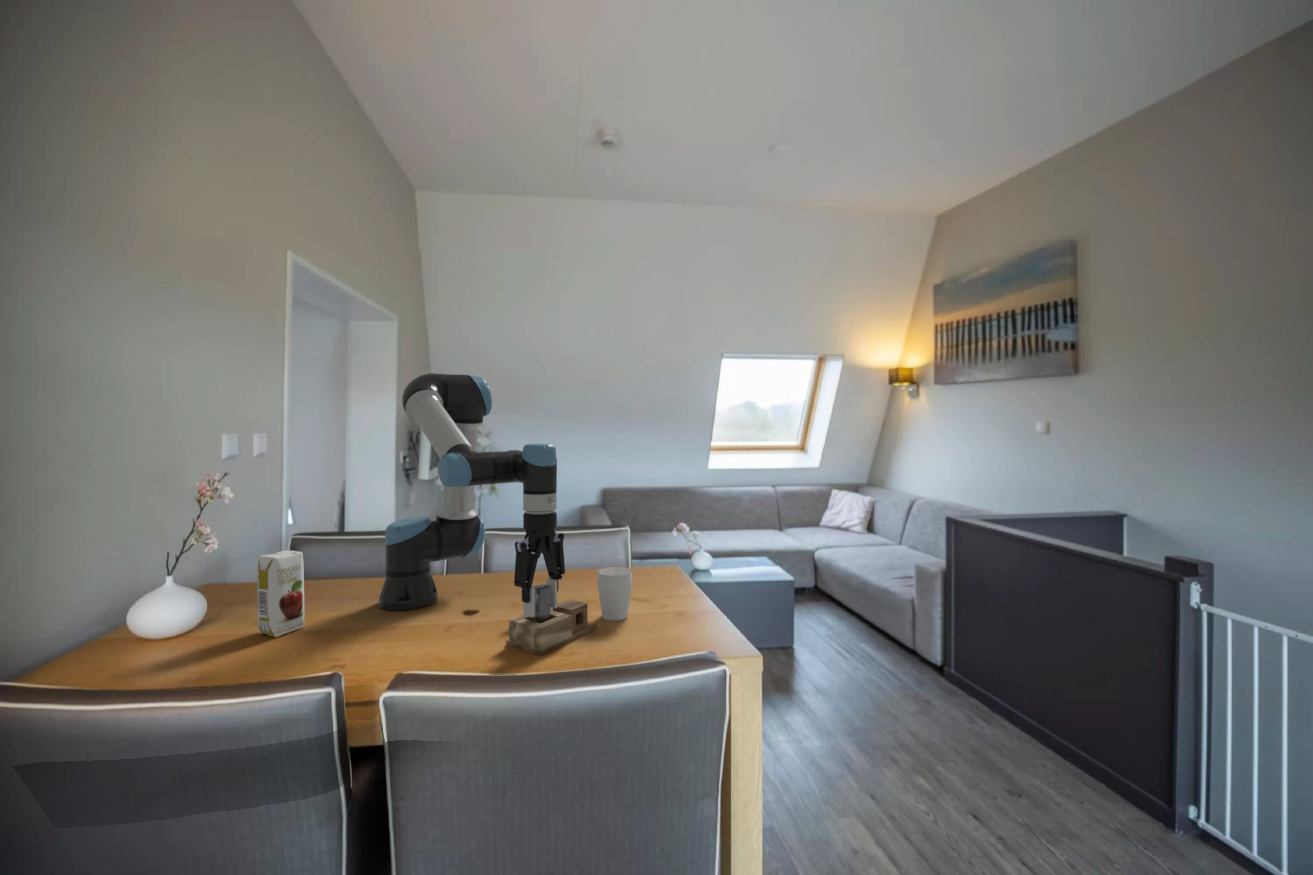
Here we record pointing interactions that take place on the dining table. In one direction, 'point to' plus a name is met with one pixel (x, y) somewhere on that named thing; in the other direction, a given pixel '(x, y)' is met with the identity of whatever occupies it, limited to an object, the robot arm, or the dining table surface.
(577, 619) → the dock
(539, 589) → the dark grey cylinder
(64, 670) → the dining table surface
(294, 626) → the juice carton
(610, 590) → the cup
